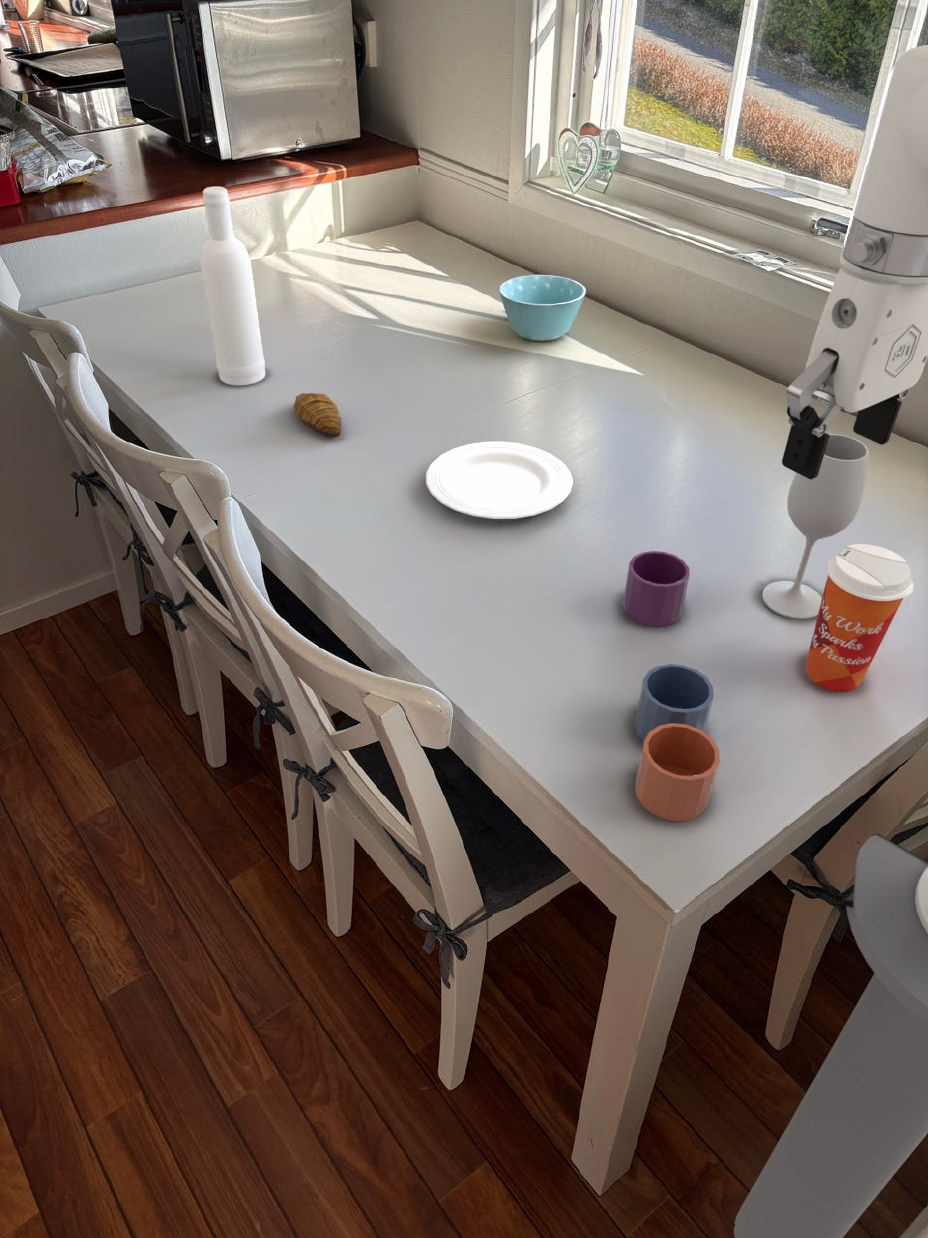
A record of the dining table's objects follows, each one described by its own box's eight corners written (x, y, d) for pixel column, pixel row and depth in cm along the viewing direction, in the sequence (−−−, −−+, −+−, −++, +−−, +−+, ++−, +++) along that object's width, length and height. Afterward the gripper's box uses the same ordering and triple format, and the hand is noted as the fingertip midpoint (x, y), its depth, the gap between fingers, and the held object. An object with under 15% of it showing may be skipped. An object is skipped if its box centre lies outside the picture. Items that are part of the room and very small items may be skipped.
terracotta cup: (722, 798, 88) (735, 756, 84) (672, 833, 85) (683, 791, 81) (669, 755, 93) (679, 713, 89) (620, 786, 89) (628, 744, 85)
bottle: (272, 368, 160) (249, 183, 141) (257, 388, 154) (230, 198, 135) (228, 364, 161) (199, 180, 142) (211, 383, 155) (178, 194, 136)
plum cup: (693, 612, 110) (702, 572, 106) (652, 634, 107) (660, 594, 103) (651, 583, 114) (658, 544, 110) (611, 604, 111) (617, 564, 107)
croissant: (280, 410, 148) (276, 381, 145) (318, 400, 151) (315, 372, 148) (316, 446, 140) (313, 416, 136) (356, 435, 142) (354, 405, 139)
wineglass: (822, 626, 108) (876, 470, 95) (756, 611, 110) (799, 456, 97) (827, 589, 114) (878, 437, 100) (764, 575, 116) (806, 424, 102)
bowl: (480, 330, 174) (481, 286, 169) (538, 309, 182) (540, 267, 177) (540, 356, 165) (544, 311, 160) (598, 333, 174) (603, 289, 168)
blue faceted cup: (716, 734, 95) (728, 692, 91) (670, 764, 92) (680, 722, 88) (667, 696, 99) (676, 654, 95) (621, 723, 96) (628, 682, 92)
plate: (552, 446, 140) (553, 435, 139) (589, 522, 125) (590, 510, 123) (416, 457, 137) (416, 445, 136) (437, 536, 122) (436, 524, 120)
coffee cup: (781, 674, 102) (816, 564, 92) (815, 638, 107) (852, 531, 97) (853, 711, 98) (898, 601, 88) (885, 673, 102) (931, 564, 93)
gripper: (873, 286, 61) (807, 506, 72) (1010, 238, 69) (932, 442, 80) (781, 254, 65) (732, 466, 76) (920, 213, 73) (858, 409, 84)
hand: (835, 454), depth 78 cm, fingers open, 9 cm apart
